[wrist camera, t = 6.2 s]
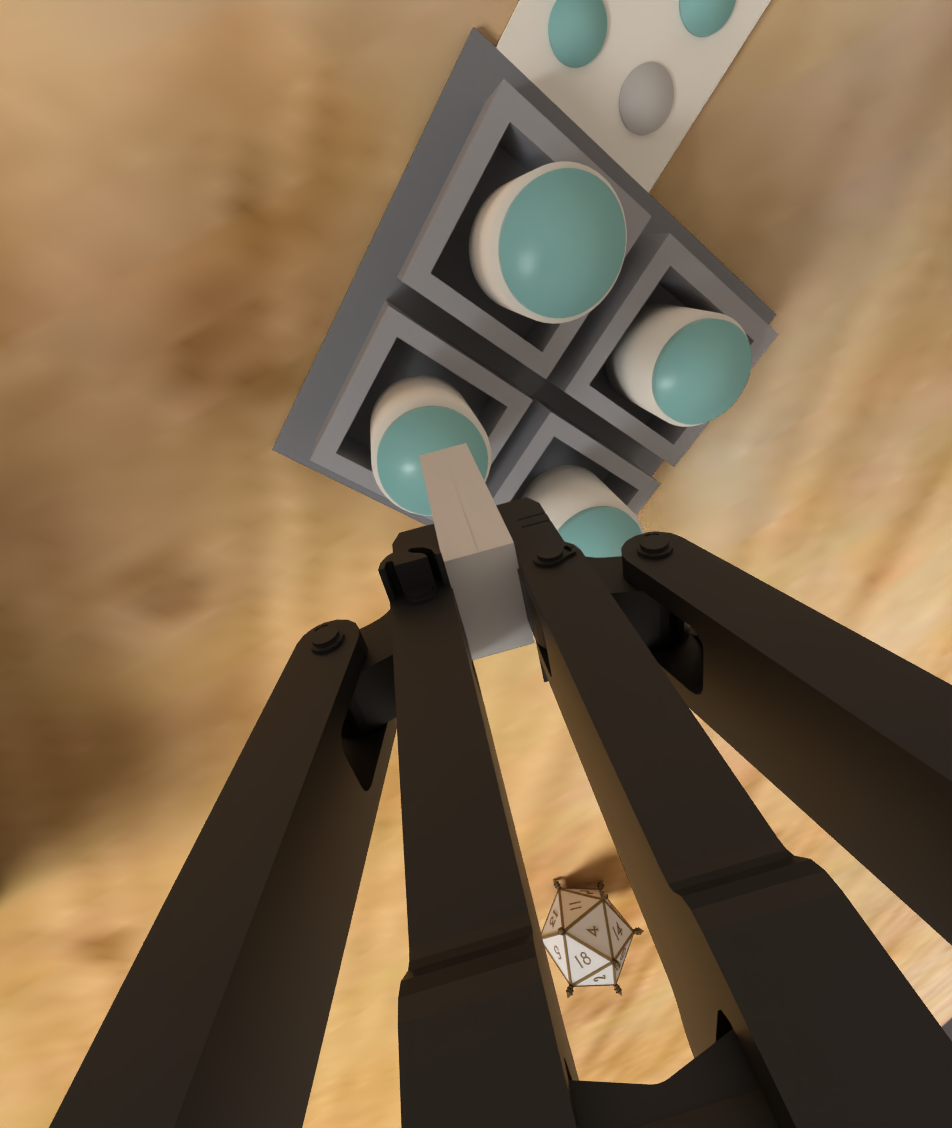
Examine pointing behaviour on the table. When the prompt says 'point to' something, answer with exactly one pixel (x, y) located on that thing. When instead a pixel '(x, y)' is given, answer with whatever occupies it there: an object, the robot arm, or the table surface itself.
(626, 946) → the game die
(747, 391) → the table surface
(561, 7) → the card
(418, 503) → the button
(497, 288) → the button
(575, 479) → the button
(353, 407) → the board
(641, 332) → the button
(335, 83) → the table surface
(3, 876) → the table surface
